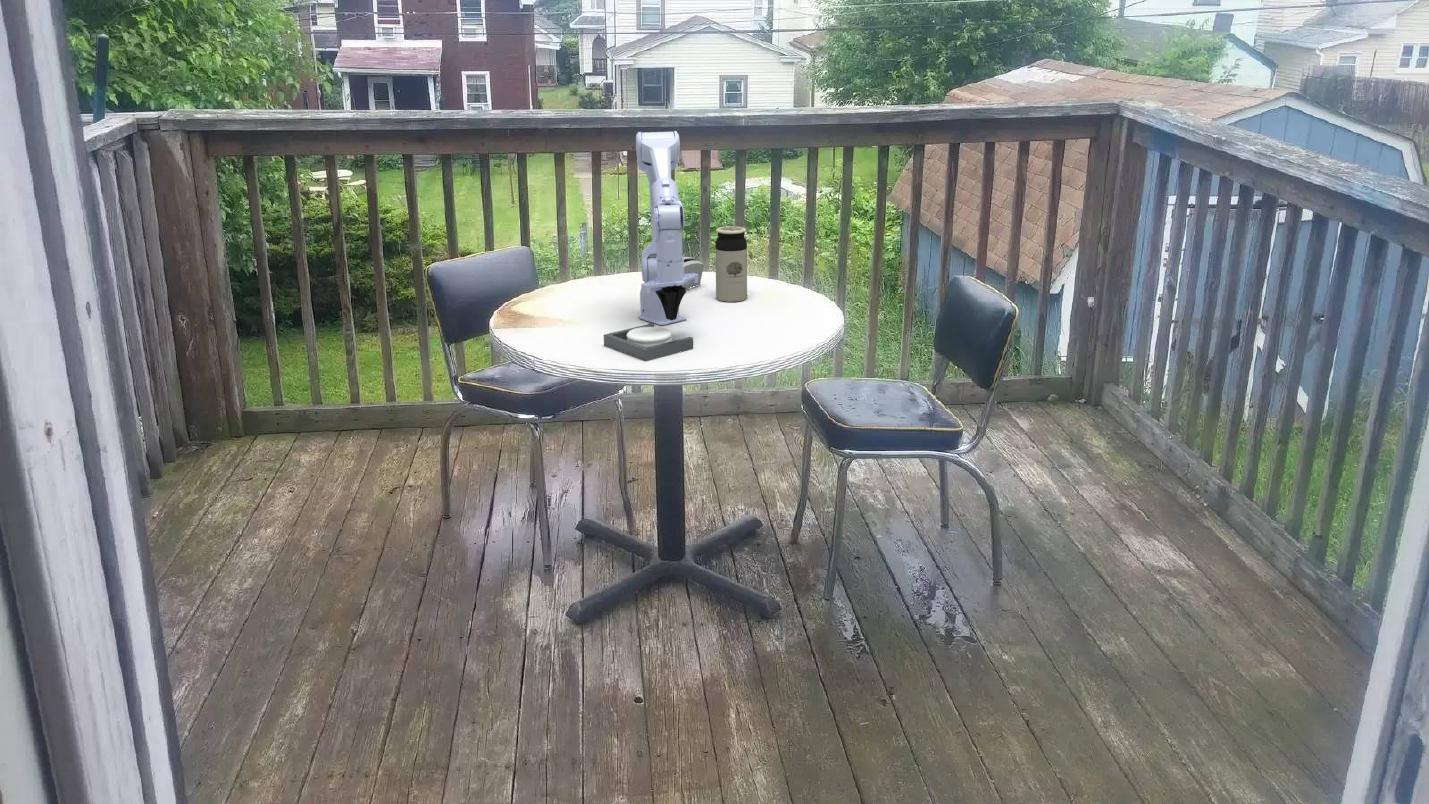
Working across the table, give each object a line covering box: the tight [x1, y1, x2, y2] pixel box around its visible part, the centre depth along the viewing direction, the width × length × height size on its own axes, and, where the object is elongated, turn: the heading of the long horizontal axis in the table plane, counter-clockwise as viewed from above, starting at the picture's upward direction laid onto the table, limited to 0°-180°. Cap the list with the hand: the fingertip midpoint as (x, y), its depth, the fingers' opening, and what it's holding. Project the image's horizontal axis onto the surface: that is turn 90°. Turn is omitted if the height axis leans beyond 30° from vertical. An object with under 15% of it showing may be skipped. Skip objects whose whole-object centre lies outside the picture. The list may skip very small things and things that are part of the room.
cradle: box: [603, 323, 694, 362], centre depth 248 cm, size 15×13×2 cm
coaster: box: [627, 326, 673, 348], centre depth 248 cm, size 10×10×4 cm
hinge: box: [682, 256, 705, 290], centre depth 294 cm, size 17×5×10 cm, turn 145°
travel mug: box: [715, 225, 748, 303], centre depth 284 cm, size 8×8×18 cm
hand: (671, 318), depth 251 cm, fingers closed
